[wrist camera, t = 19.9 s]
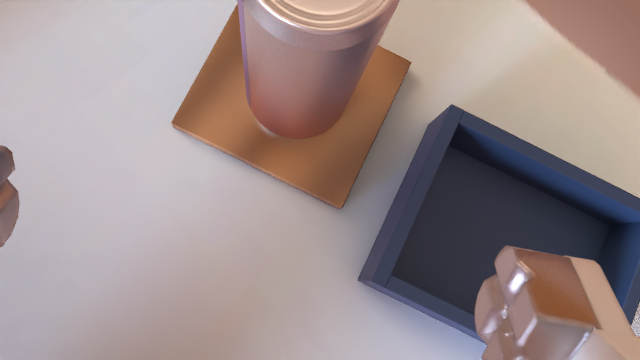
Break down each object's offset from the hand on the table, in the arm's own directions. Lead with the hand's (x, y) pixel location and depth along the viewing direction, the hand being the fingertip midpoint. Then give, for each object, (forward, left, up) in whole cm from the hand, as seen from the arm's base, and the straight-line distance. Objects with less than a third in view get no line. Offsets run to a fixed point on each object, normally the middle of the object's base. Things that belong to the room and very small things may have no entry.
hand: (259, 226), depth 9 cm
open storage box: (+12, +7, -24) cm, 28 cm away
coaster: (-3, +10, -24) cm, 26 cm away
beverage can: (-2, +10, -23) cm, 25 cm away
